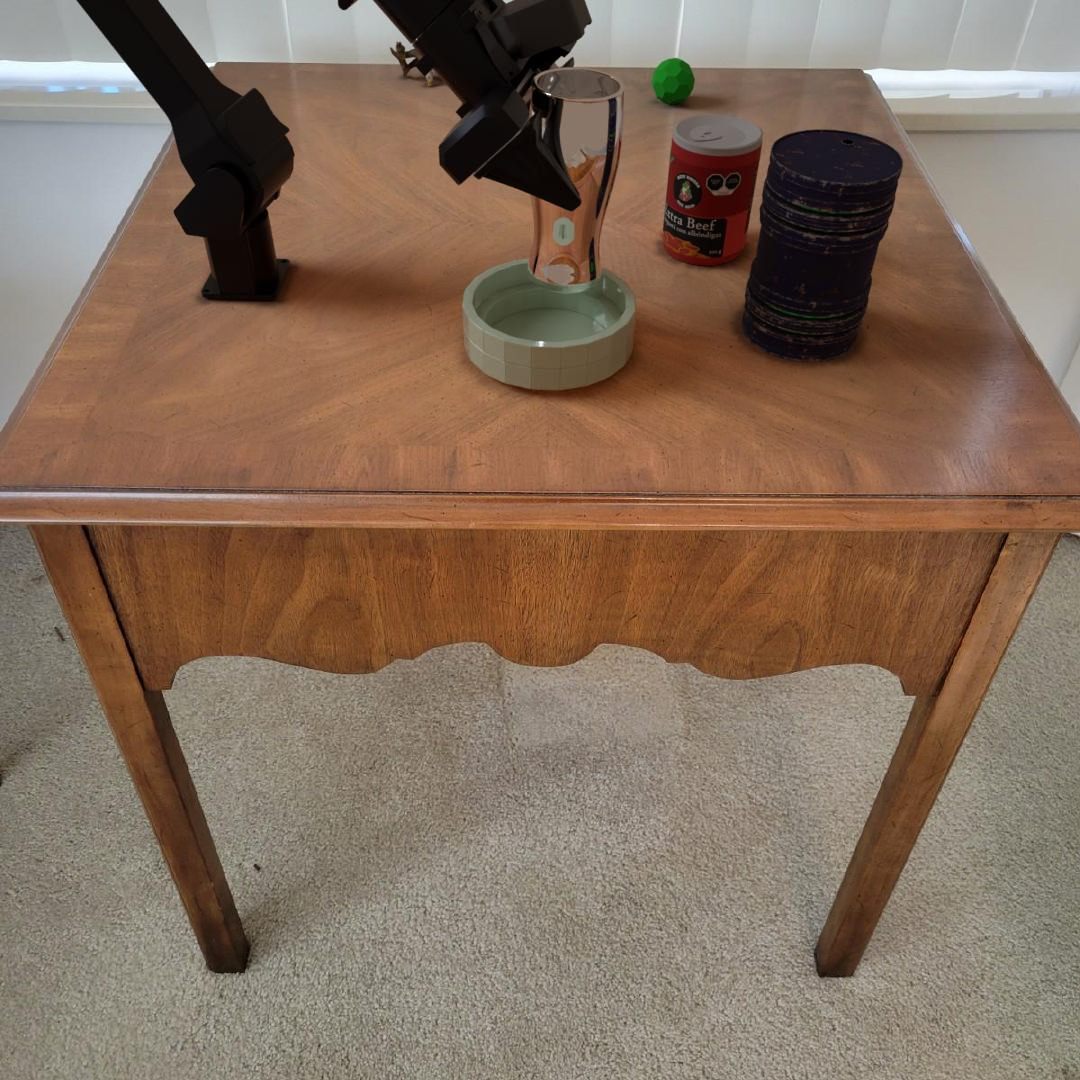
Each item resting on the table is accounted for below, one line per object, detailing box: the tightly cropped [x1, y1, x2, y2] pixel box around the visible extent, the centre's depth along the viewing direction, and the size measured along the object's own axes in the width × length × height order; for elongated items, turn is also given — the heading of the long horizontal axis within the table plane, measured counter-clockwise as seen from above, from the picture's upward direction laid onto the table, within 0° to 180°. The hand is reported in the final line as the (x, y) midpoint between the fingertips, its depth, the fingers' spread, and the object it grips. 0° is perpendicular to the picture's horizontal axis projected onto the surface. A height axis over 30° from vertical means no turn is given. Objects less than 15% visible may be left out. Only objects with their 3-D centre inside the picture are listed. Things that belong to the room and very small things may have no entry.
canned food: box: [661, 113, 764, 266], centre depth 92 cm, size 8×8×11 cm
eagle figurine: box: [389, 33, 434, 87], centre depth 124 cm, size 8×7×9 cm
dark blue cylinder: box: [740, 128, 904, 363], centre depth 81 cm, size 10×10×15 cm
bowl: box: [461, 257, 637, 391], centre depth 82 cm, size 14×14×4 cm
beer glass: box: [527, 66, 626, 293], centre depth 77 cm, size 7×7×15 cm
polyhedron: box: [651, 57, 696, 106], centre depth 120 cm, size 5×5×5 cm
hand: (586, 186), depth 77 cm, fingers closed on beer glass, 7 cm apart
